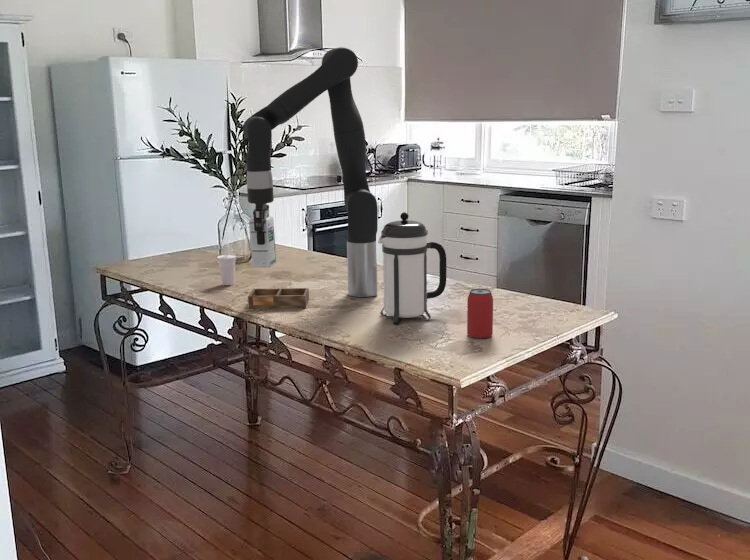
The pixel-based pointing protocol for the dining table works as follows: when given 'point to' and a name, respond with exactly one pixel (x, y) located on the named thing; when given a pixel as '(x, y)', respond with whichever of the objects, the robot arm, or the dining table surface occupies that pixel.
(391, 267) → the coffee press
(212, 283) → the dining table surface
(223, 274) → the smoothie
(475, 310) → the beer can
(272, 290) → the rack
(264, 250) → the syrup box
